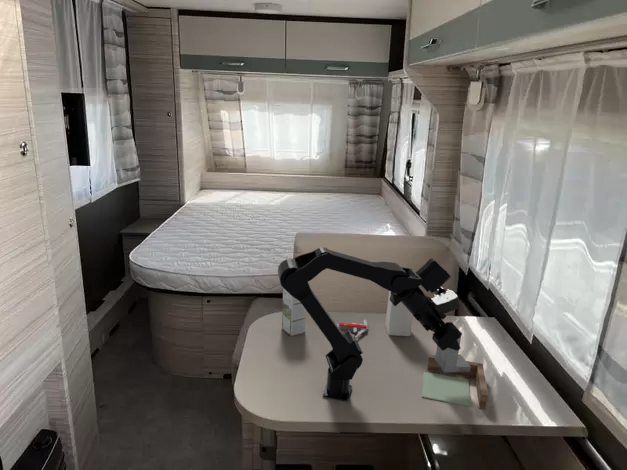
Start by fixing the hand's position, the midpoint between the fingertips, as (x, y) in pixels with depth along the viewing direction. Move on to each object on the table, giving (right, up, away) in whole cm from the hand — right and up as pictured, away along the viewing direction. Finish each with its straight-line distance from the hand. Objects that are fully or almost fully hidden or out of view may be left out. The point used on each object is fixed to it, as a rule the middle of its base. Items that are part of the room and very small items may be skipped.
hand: (453, 343), depth 124 cm
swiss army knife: (-24, -3, +32) cm, 41 cm away
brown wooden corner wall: (+1, -13, +4) cm, 13 cm away
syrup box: (-43, -3, +29) cm, 52 cm away
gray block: (0, -6, +2) cm, 7 cm away
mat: (-1, -13, +3) cm, 13 cm away
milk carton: (-9, -4, +34) cm, 35 cm away
